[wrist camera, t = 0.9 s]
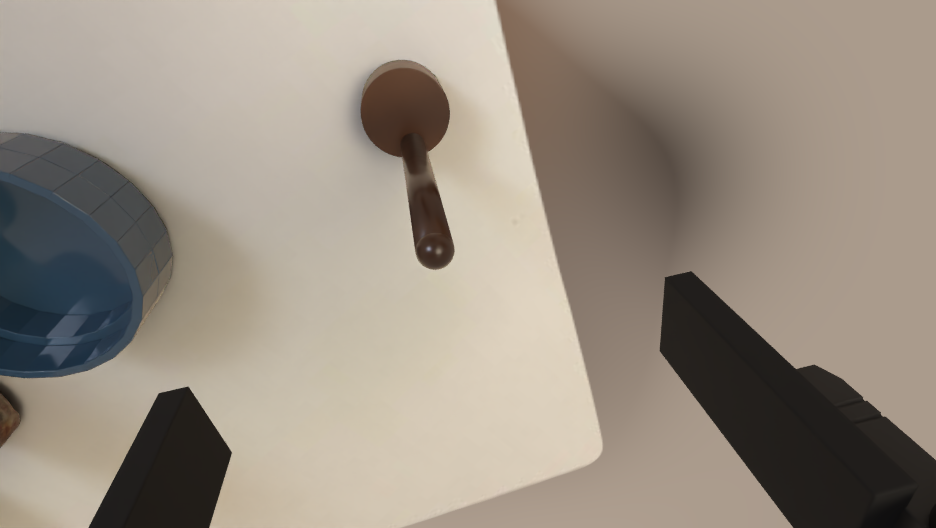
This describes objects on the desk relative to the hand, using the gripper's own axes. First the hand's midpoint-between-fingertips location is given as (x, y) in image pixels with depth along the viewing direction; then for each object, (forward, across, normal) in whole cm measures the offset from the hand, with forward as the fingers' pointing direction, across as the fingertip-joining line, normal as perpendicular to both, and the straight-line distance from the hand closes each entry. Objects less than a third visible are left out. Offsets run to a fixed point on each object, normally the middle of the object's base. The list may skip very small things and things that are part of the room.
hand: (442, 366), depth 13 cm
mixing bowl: (+24, -26, -2) cm, 35 cm away
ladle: (+24, 0, +2) cm, 24 cm away
